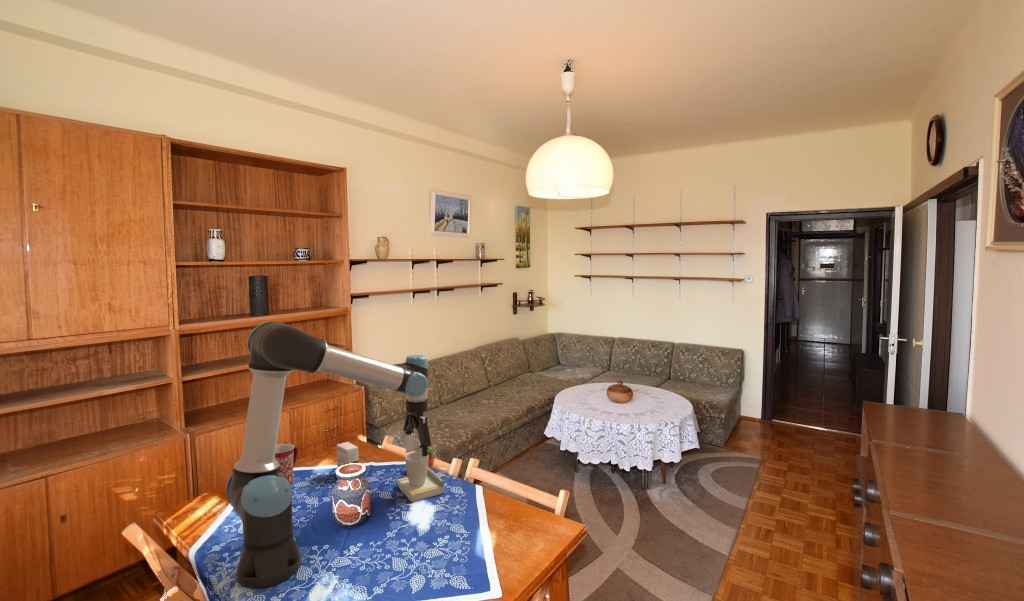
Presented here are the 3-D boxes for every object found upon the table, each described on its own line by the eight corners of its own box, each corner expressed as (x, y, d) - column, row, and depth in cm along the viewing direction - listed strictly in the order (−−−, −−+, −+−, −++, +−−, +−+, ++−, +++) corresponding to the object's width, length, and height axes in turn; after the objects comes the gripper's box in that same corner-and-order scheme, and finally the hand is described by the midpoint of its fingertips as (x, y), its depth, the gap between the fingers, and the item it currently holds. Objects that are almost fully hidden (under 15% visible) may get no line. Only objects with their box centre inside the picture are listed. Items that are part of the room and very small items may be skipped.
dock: (444, 493, 171) (443, 480, 171) (411, 502, 165) (411, 489, 165) (428, 478, 183) (428, 466, 183) (397, 486, 177) (397, 474, 176)
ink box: (359, 476, 185) (359, 446, 184) (347, 480, 181) (347, 450, 180) (348, 470, 191) (347, 440, 190) (336, 474, 187) (335, 444, 186)
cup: (433, 482, 175) (433, 455, 174) (417, 491, 168) (417, 462, 167) (416, 476, 179) (416, 450, 178) (400, 485, 172) (400, 457, 171)
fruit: (424, 477, 184) (424, 451, 184) (406, 471, 190) (405, 446, 189) (439, 469, 192) (439, 444, 191) (421, 463, 197) (421, 439, 196)
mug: (283, 490, 173) (281, 453, 172) (262, 487, 176) (261, 451, 175) (307, 475, 185) (306, 441, 184) (287, 472, 188) (286, 438, 187)
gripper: (441, 406, 163) (440, 468, 164) (413, 390, 184) (413, 445, 185) (419, 409, 159) (419, 472, 160) (394, 392, 180) (394, 448, 181)
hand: (416, 458), depth 172 cm, fingers open, 13 cm apart
